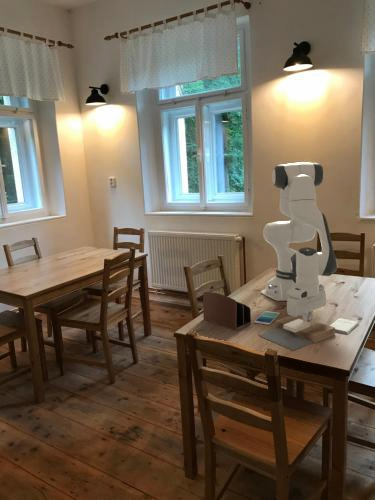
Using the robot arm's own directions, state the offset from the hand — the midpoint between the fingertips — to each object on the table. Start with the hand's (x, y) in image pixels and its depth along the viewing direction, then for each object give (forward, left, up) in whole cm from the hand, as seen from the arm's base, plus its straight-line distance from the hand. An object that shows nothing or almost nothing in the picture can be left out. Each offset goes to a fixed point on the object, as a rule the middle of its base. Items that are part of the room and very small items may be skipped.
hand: (307, 321), depth 166 cm
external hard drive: (+7, +14, -5) cm, 16 cm away
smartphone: (-20, -2, -5) cm, 21 cm away
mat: (0, -13, -4) cm, 13 cm away
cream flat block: (0, -6, -1) cm, 6 cm away
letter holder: (-29, -18, -4) cm, 35 cm away
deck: (0, -1, -4) cm, 4 cm away
